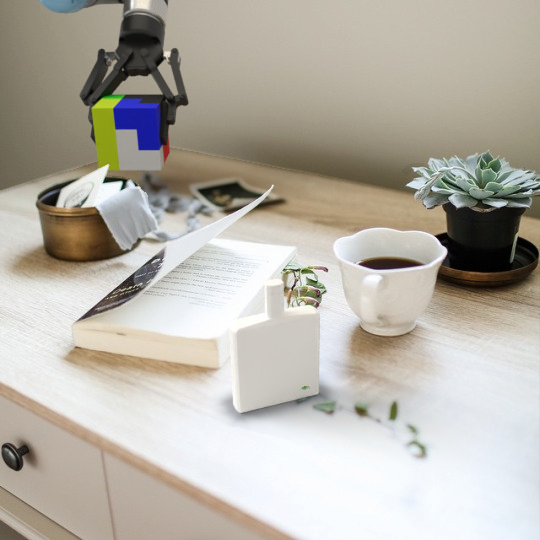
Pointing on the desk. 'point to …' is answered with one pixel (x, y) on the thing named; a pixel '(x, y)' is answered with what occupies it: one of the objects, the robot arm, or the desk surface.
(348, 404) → the desk surface
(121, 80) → the robot arm
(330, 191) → the desk surface
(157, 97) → the puzzle toy
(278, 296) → the perfume bottle
